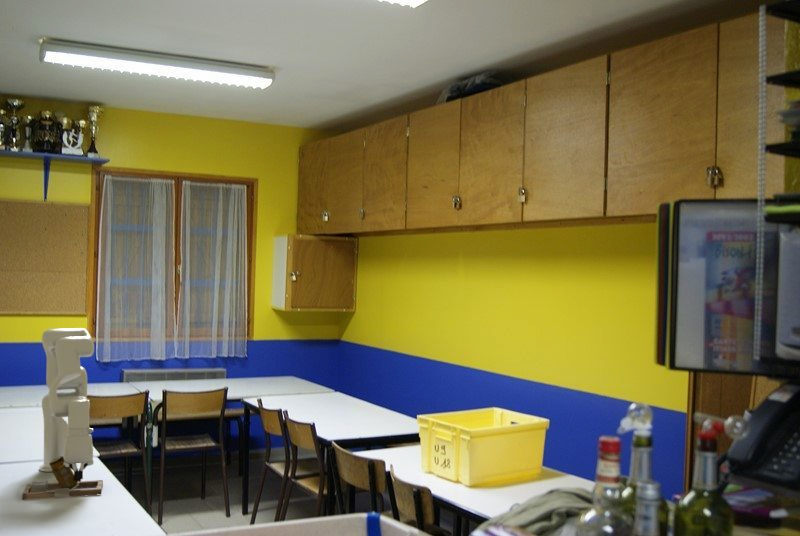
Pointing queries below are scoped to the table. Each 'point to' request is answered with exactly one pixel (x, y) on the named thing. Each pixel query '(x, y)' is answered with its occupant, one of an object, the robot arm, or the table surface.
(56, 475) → the condiment
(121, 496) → the table surface
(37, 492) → the frame
